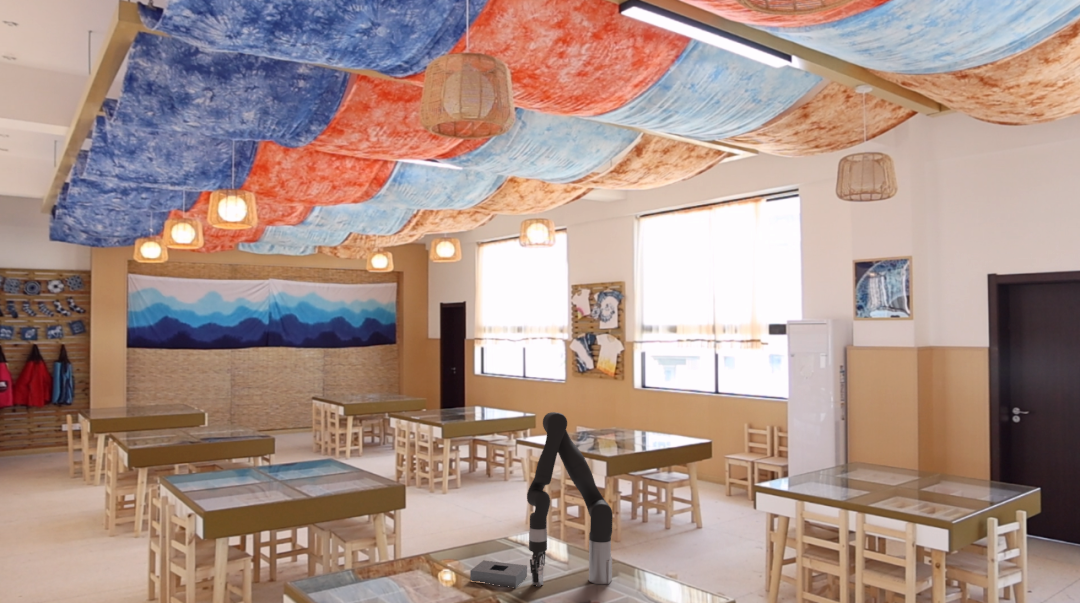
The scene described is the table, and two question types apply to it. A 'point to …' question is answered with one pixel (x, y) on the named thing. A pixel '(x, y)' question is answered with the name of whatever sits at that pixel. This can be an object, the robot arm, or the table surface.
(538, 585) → the piston
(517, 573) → the grey block with hole
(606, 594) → the table surface
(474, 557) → the table surface
